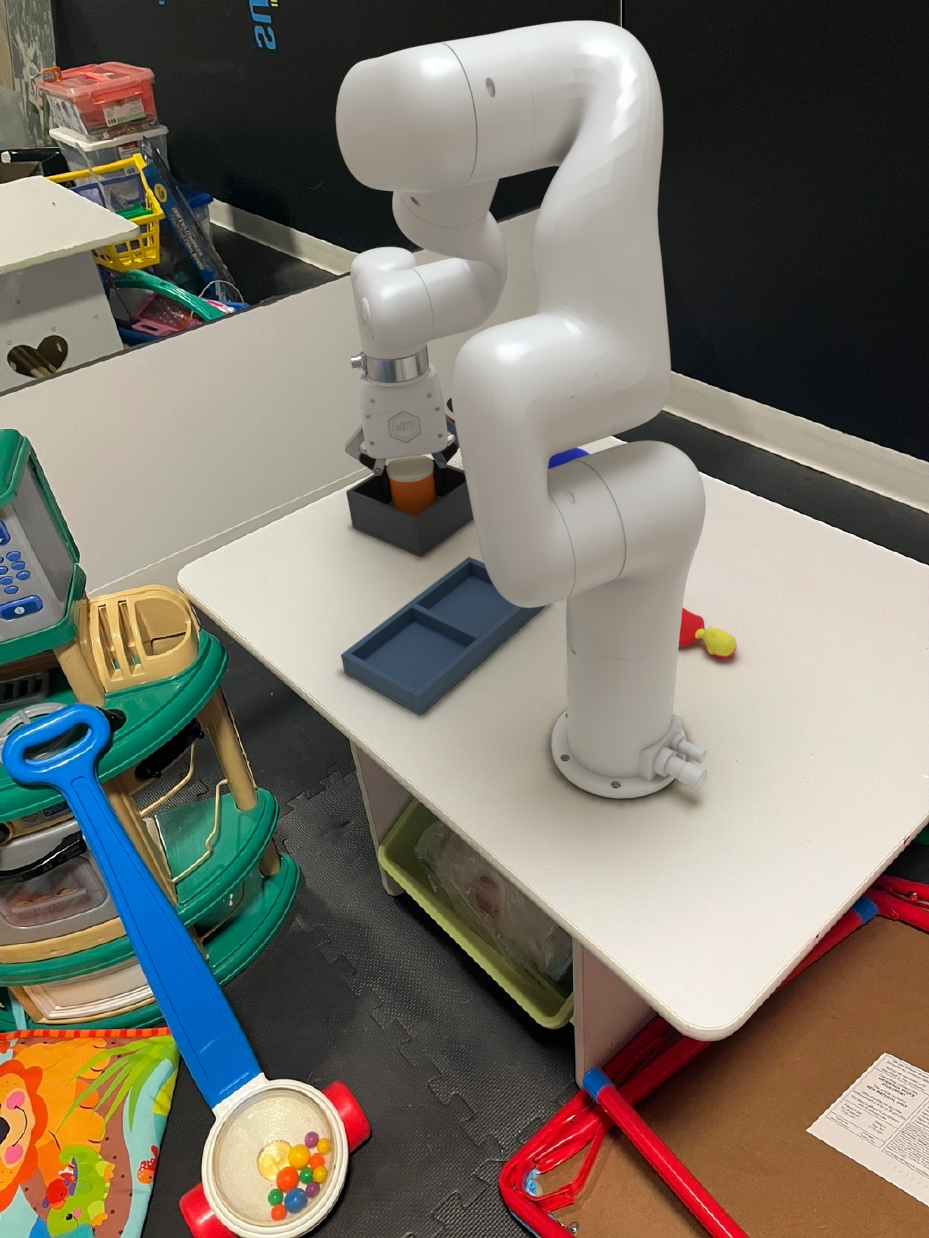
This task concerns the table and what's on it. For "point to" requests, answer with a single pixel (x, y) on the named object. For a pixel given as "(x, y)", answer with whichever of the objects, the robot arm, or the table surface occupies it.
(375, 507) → the grey square open box
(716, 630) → the character figure
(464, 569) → the blue divided tray
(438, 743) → the table surface
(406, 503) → the food tub
